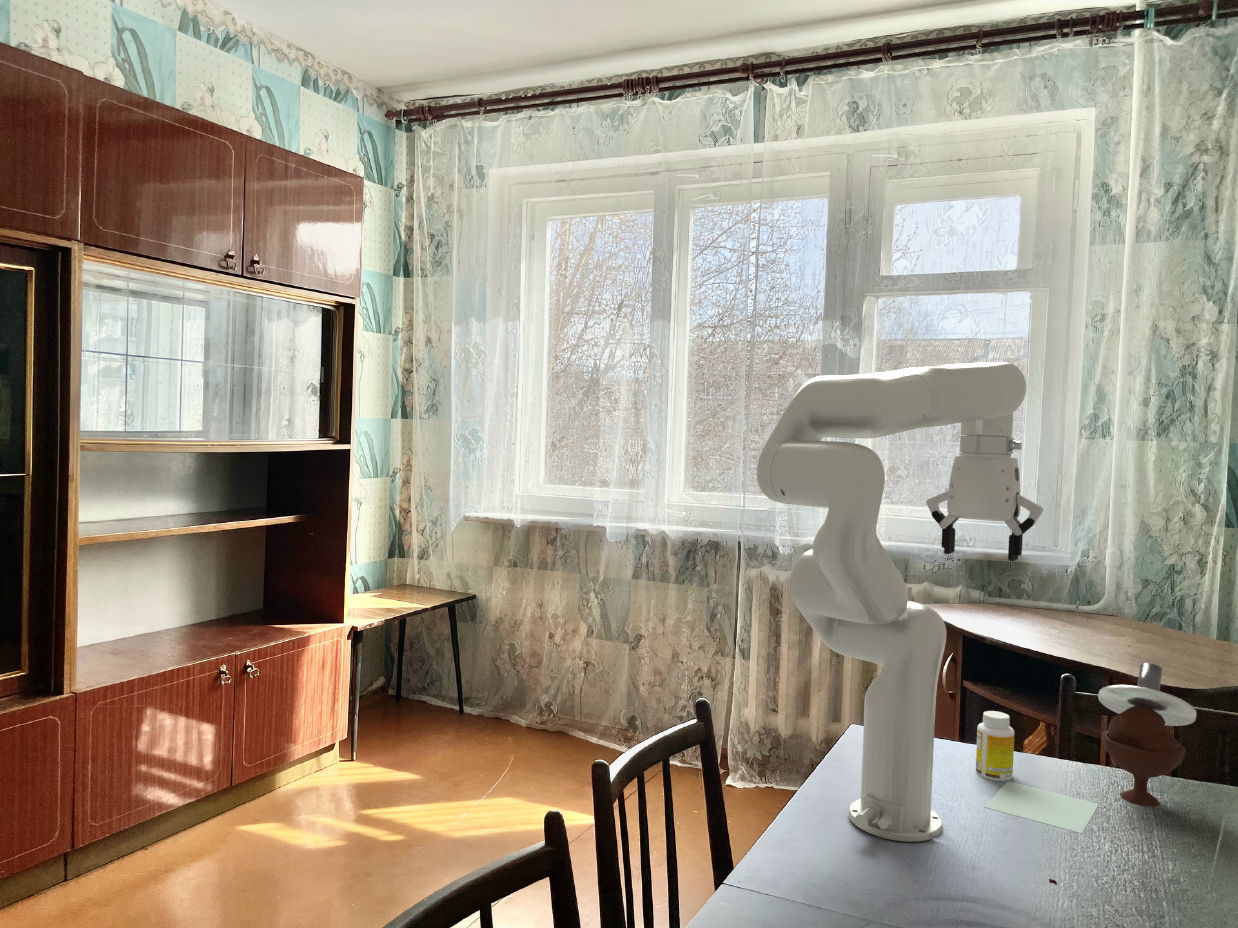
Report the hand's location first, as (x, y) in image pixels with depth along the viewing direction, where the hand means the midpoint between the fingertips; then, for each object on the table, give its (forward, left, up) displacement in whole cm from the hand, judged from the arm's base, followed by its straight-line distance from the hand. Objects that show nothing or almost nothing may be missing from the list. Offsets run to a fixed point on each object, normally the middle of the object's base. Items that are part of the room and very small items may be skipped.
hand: (980, 556), depth 139 cm
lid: (+13, -22, -22) cm, 34 cm away
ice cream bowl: (+11, -22, -36) cm, 44 cm away
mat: (-2, -11, -36) cm, 38 cm away
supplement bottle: (+6, -2, -36) cm, 37 cm away
